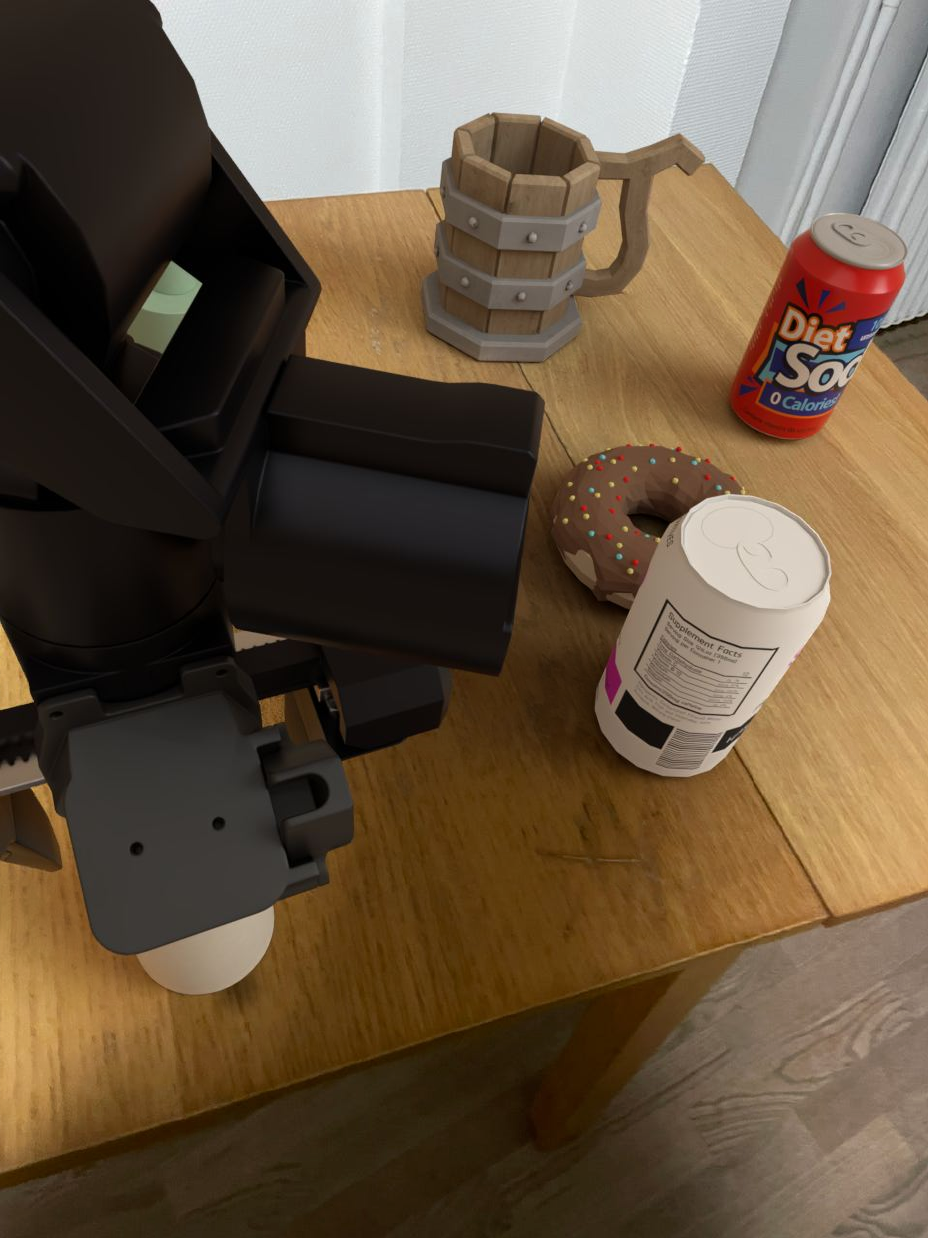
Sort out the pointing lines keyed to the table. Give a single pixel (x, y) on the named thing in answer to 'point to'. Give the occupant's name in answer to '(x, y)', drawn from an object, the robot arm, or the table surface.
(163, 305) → the sage bottle
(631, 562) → the donut
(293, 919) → the table surface
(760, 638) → the supplement can
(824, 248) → the soda can
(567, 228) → the tankard
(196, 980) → the cream bottle
